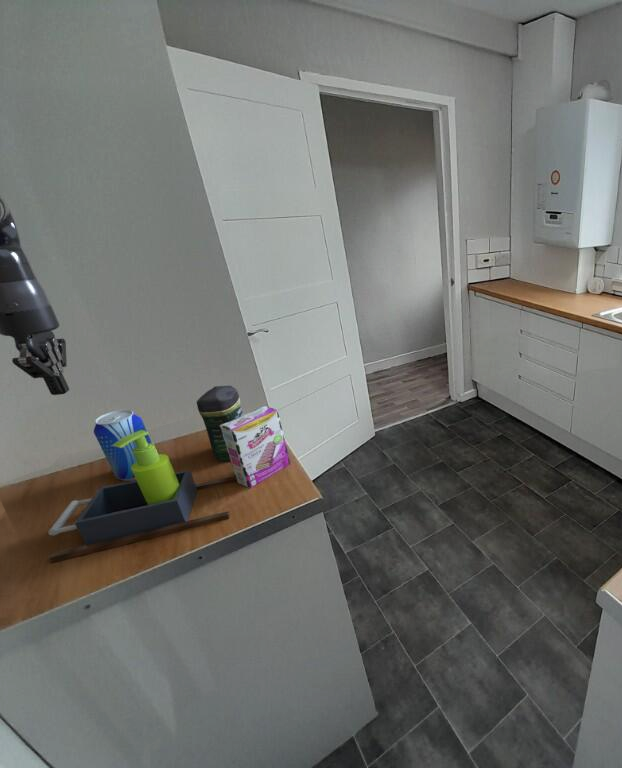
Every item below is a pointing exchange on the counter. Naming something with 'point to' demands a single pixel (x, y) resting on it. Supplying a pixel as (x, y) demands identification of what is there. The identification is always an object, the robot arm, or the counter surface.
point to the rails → (149, 533)
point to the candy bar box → (256, 446)
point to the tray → (127, 511)
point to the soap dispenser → (151, 469)
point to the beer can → (115, 429)
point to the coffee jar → (219, 416)
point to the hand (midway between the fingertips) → (60, 393)
